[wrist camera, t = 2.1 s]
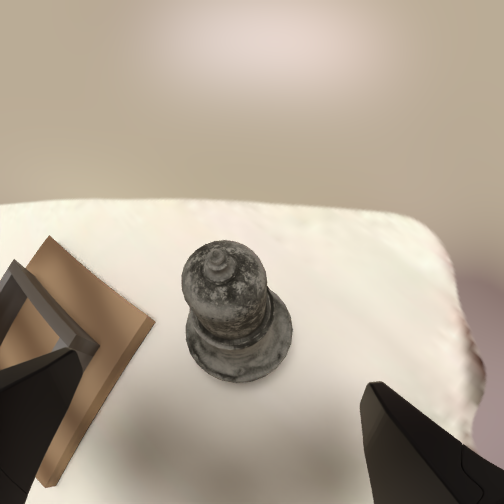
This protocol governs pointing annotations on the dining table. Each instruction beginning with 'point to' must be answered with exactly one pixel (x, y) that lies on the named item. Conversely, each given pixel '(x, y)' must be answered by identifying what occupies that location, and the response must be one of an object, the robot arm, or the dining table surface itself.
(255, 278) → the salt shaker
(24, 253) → the dining table surface
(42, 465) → the collar holder
